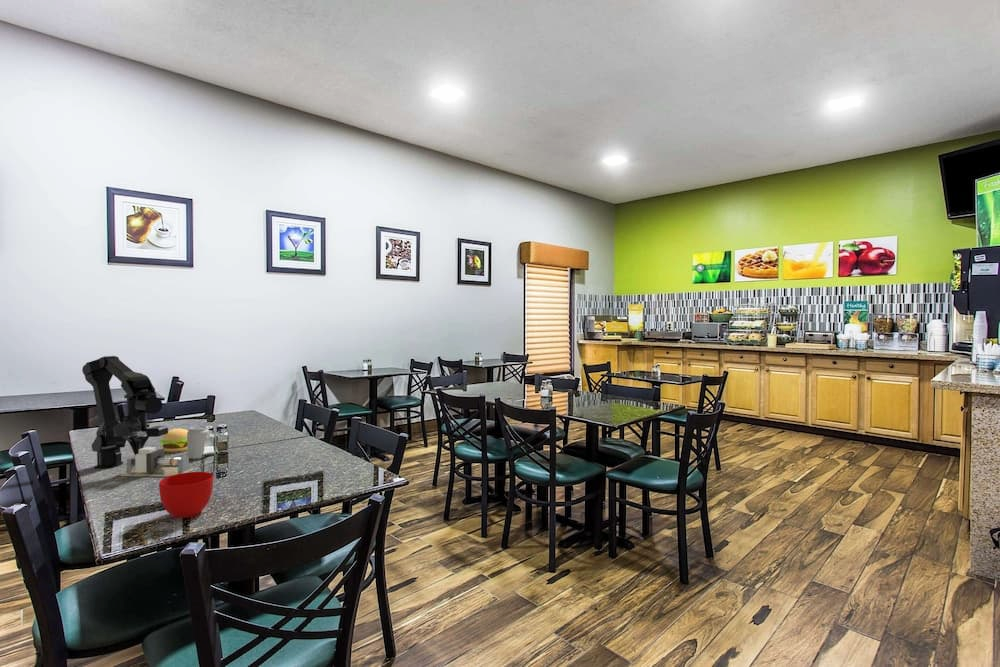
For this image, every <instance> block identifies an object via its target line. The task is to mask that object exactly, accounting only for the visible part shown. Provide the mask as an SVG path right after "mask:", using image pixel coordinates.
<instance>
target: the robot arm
mask: <svg viewBox="0 0 1000 667" xmlns="http://www.w3.org/2000/svg"><path fill="white" fill-rule="evenodd" d="M81 370H82V374H83V375H84V378H85V381H86V382H87V383H88V384H90V386H92V389H93V394H94V400H95V403H96V409H97V414H98V420H99V426H98V427H97V429H96V432H95V434H96V437H95V438H94V441H93V442H92V443H91V450H92V452H96V456H97V458H96V462H97V463H96V465H94V466H93V468H98V469H100V468H101V469H102V468H107V469H110V468H114V467H117V466H119V465H122V464H124V463H125V461H122V452H121V448H125V447H126V442H128V443H129V446H130V447H131V449H132V452H133V454H134V456H135V455H136V454H138V453H139V449H141V448H144V446H145V444H146V443H147V441H148V440H149V438H157V437H161V436H162V437H163V435H165V434H168V431H169V428H168V427H167V426H166V425H155V426H152V427H150V423H148V420H147V419H148V417H149V416H150V415H155V414H157V413H159V412H160V411H161V410H162V409H163V404H164V403H163V402H162V400H161V399H160V397H157V393H156V388H155V387H154V385H153V384H152V381H151V379H150V378H149V377H148V375H146V374H143V373H141V372H136V371H133V370H132V369H131V367H129V366H127V365H126V364H125V363H124V362H123V361H121V360H120V358H119V357H118V356H116V355H108V356H107V355H105V356H102V357H99V358H97V359H95V360H91V361H88V362H86V363H85V364H84V365H83V366H82V369H81ZM113 376H114V377H115V378H117V379H118V381H120V383H121V384H120V388H122V390H123V391H124V392H125V393H126V394H125V395H124V396H123V398H124V399H126V414H125V415H124V417H123V420H122V421H121V422H119V421H118V420H117V417H116V411H115V406H114V401H113V397H112V396H113V395H112V390H111V387H110V382H111V380H112V378H113Z"/></svg>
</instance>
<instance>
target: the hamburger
mask: <svg viewBox="0 0 1000 667" xmlns="http://www.w3.org/2000/svg"><path fill="white" fill-rule="evenodd" d="M188 431H189V430H188V429H184V428H173V429H171V430H168V434H165V435H162V438H160V439H159V442H160V447H161V449H164V453H165V452H166V453H179V452H184V451H187V432H188Z"/></svg>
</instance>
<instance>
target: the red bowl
mask: <svg viewBox="0 0 1000 667" xmlns="http://www.w3.org/2000/svg"><path fill="white" fill-rule="evenodd" d="M213 488H214V474H213V473H211V472H208V471H191V472H190V471H189V472H187V473H181V474H176V475H172V476H169V477H163V478H162V479H161V480H160V481H159V482H158V489H159V490H158V491H159V498H160V501H161V504H162V506H163V508H164V509H165V510H166V512H167V513H169V514H170V515H171V516H172V517H173V518H174V519H175V518H176V519H187V518H192V517H195V516H197V515H200V513H202V511H203V510H204V509H205V508H206V506H207V505H208V503H209V502H210V500H211V497H212V494H213Z"/></svg>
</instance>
